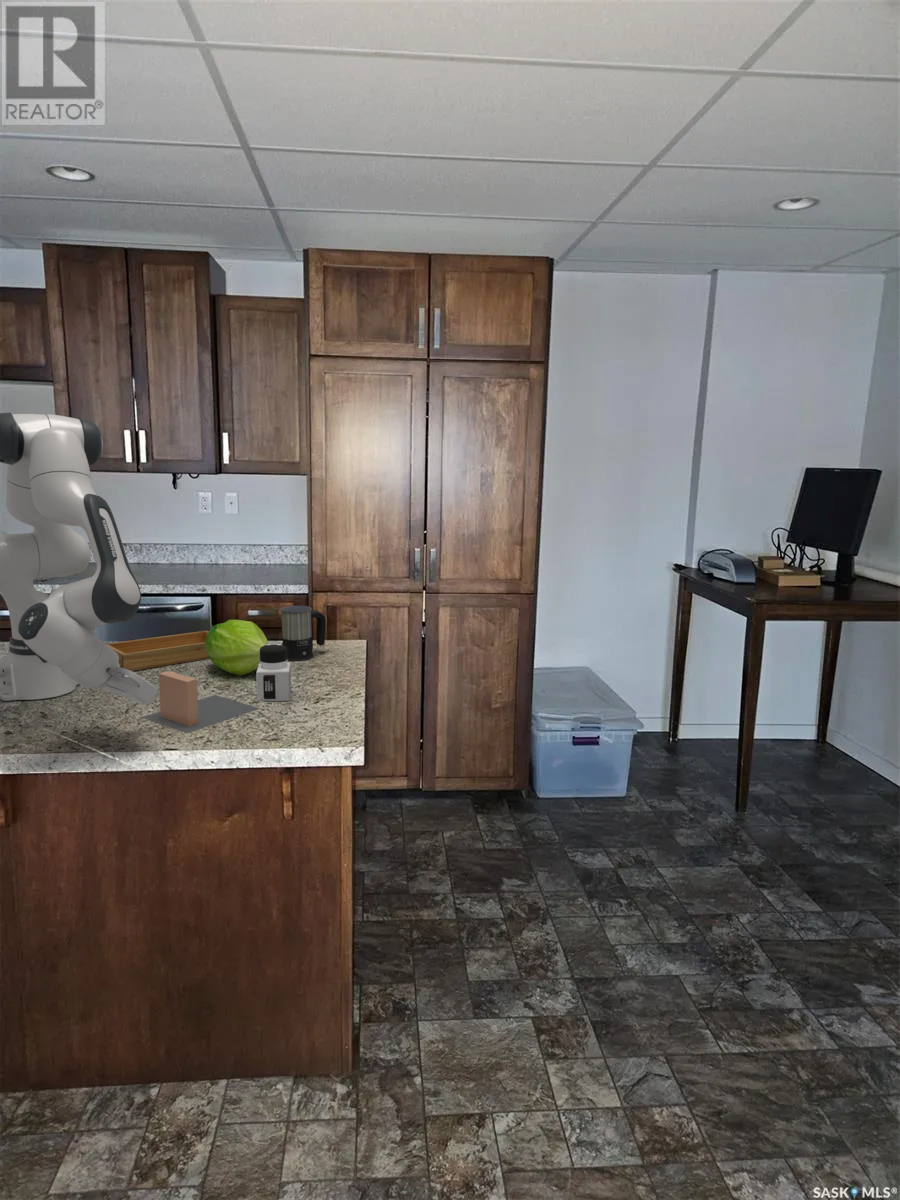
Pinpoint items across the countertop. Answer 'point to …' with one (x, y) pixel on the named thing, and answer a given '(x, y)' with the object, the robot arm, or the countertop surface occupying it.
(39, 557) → the robot arm
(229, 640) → the lettuce
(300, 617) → the milk frother
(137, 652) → the tray
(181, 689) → the block
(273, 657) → the container
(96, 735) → the countertop surface
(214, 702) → the mat
